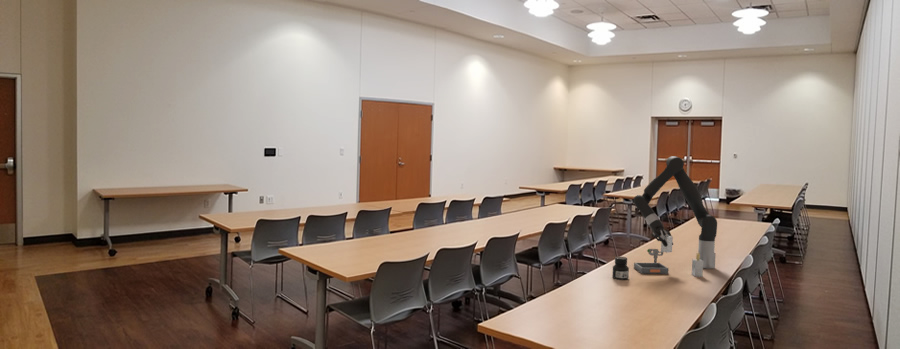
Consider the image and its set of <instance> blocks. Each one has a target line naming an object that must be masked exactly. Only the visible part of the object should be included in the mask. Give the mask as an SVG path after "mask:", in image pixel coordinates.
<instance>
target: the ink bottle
mask: <svg viewBox="0 0 900 349" xmlns="http://www.w3.org/2000/svg"><path fill="white" fill-rule="evenodd" d="M629 269H630V267H629V266H628V257H625V256H615V257H614V264H613V265H612V275H611V276H612V278H613V279H615V280H619V281H620V280H622V281H623V280H624V281H625V280H628V279H629V277H630V274H629Z"/></svg>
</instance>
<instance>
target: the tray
mask: <svg viewBox="0 0 900 349" xmlns="http://www.w3.org/2000/svg"><path fill="white" fill-rule="evenodd" d="M633 269H634V270H635V271H637V272H638V273H640V274H641V275H669V267H667V266H666V265H664V264H662V263H660V262H657V263H654V262H633Z"/></svg>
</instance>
